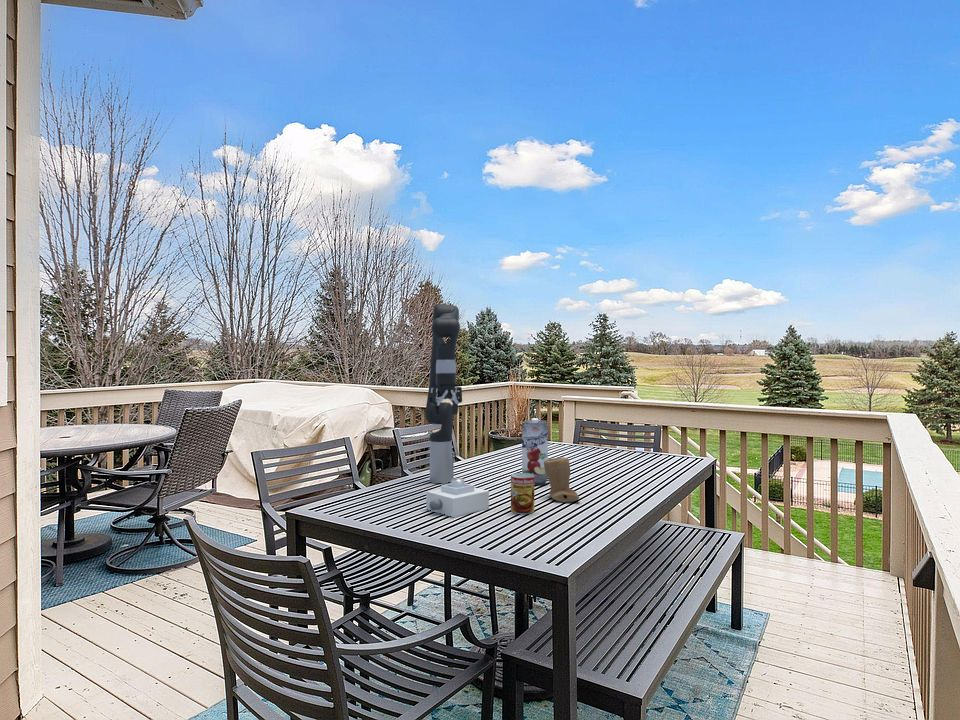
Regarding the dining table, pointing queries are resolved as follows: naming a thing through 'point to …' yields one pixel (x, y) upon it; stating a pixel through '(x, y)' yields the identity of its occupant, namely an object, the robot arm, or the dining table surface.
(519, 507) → the canned food
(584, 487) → the dining table surface
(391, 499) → the dining table surface
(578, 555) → the dining table surface
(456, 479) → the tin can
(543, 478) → the juice carton
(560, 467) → the tan suede boot
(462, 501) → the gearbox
